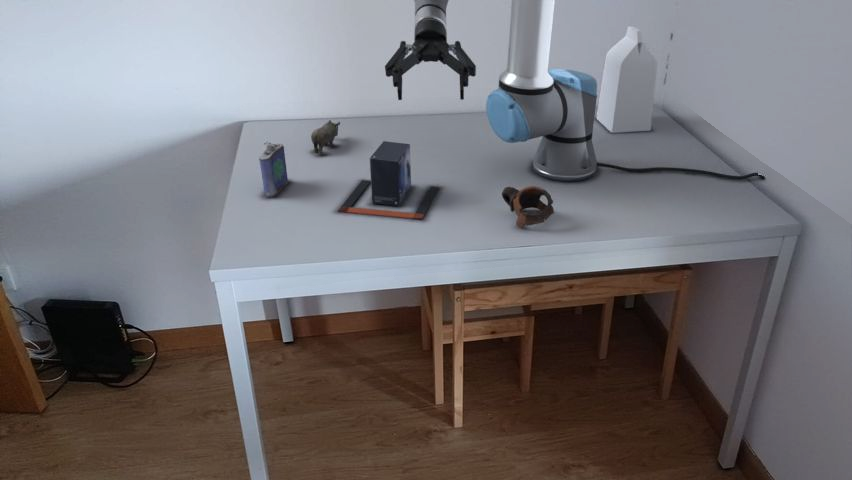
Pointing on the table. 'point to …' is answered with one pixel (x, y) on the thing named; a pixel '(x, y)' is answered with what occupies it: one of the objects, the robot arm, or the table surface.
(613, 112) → the milk
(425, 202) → the bay
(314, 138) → the rhino figurine
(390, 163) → the small box
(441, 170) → the table surface
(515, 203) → the pottery mug
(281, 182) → the flask
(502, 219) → the table surface
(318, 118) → the table surface
